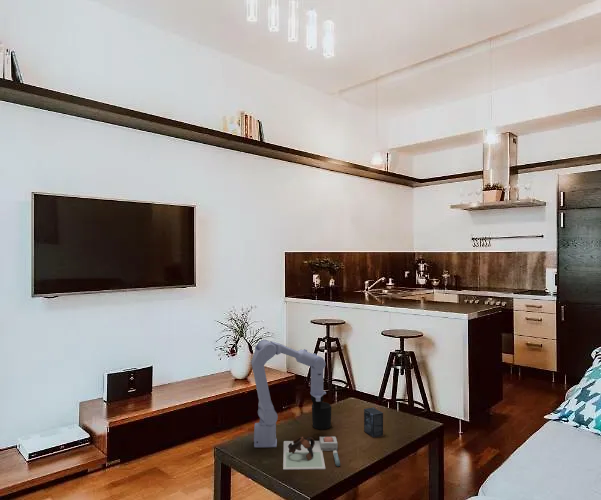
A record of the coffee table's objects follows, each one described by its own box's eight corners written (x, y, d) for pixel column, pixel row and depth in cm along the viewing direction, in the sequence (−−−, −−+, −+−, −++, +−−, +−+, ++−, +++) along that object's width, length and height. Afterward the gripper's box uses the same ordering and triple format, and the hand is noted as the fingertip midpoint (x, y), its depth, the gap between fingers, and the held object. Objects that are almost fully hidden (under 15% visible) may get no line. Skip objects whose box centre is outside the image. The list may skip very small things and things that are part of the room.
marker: (335, 466, 171) (335, 461, 171) (332, 455, 181) (332, 450, 181) (340, 466, 171) (340, 461, 171) (337, 455, 181) (337, 450, 181)
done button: (324, 447, 187) (324, 440, 187) (323, 444, 191) (323, 436, 191) (333, 447, 187) (333, 439, 187) (332, 444, 191) (332, 436, 191)
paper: (283, 469, 168) (283, 468, 168) (283, 441, 194) (283, 441, 194) (325, 469, 169) (325, 468, 169) (320, 441, 195) (320, 440, 195)
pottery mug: (305, 465, 173) (295, 445, 174) (291, 468, 179) (281, 449, 180) (324, 447, 181) (314, 429, 183) (310, 451, 188) (300, 433, 189)
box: (363, 431, 206) (363, 408, 206) (374, 429, 208) (374, 407, 209) (372, 437, 199) (372, 414, 199) (383, 436, 201) (383, 412, 201)
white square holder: (320, 450, 185) (320, 443, 186) (319, 443, 192) (319, 436, 193) (337, 450, 186) (337, 443, 186) (335, 443, 193) (335, 436, 193)
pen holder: (335, 425, 214) (334, 404, 215) (325, 431, 207) (325, 409, 207) (318, 421, 219) (318, 400, 220) (308, 427, 212) (308, 406, 212)
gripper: (327, 386, 194) (327, 418, 194) (324, 378, 209) (324, 407, 209) (311, 387, 194) (311, 418, 194) (309, 378, 209) (309, 407, 208)
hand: (317, 412), depth 201 cm, fingers closed
